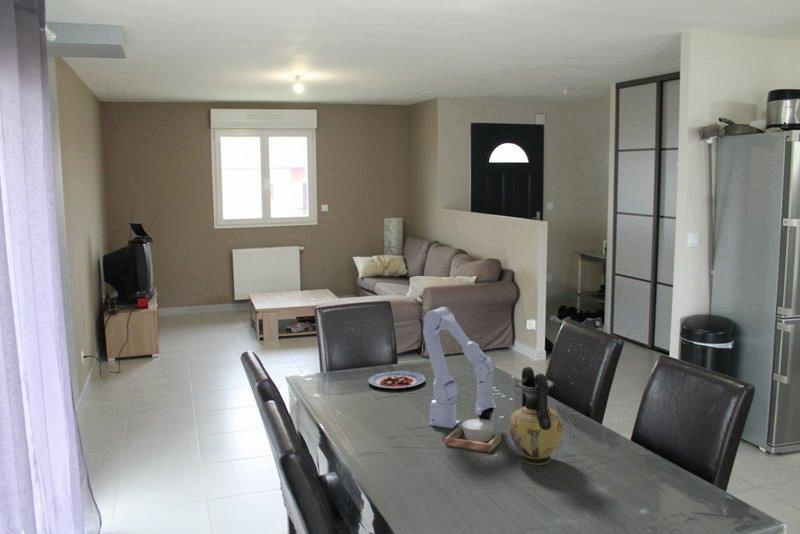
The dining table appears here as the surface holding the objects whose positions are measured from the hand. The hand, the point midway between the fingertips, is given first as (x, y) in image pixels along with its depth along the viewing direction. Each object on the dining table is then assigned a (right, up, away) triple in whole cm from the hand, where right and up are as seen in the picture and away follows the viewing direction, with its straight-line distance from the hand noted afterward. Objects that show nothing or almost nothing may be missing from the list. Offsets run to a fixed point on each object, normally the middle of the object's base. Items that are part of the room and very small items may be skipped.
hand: (485, 427), depth 253 cm
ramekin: (-3, -3, -6) cm, 7 cm away
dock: (-5, -3, -10) cm, 11 cm away
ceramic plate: (-33, +5, +63) cm, 71 cm away
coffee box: (+15, -1, +5) cm, 16 cm away
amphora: (+13, -5, -26) cm, 30 cm away
